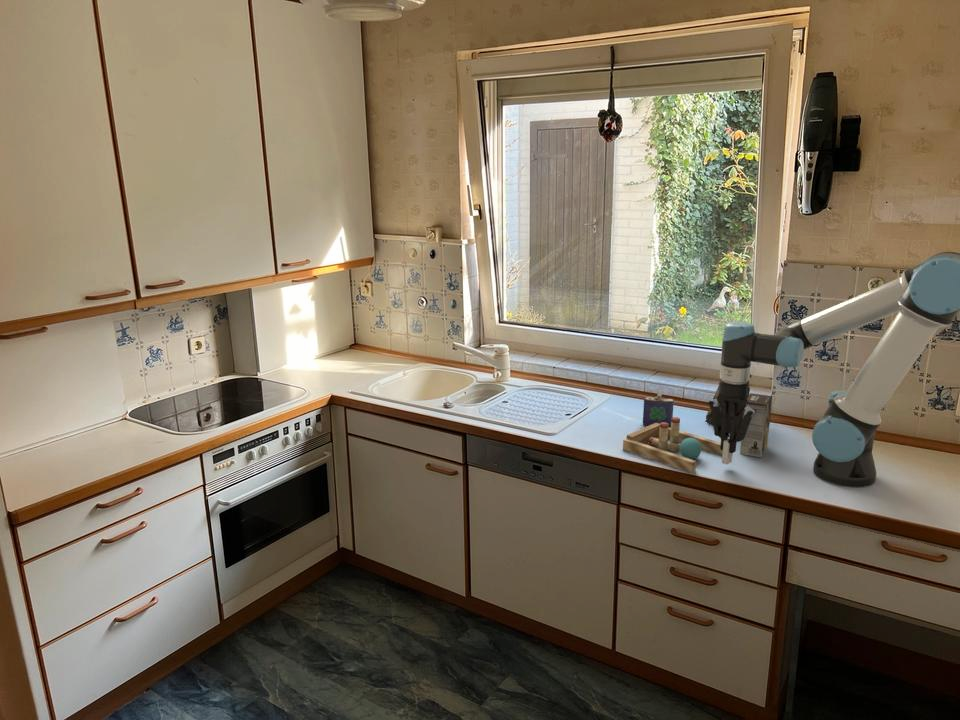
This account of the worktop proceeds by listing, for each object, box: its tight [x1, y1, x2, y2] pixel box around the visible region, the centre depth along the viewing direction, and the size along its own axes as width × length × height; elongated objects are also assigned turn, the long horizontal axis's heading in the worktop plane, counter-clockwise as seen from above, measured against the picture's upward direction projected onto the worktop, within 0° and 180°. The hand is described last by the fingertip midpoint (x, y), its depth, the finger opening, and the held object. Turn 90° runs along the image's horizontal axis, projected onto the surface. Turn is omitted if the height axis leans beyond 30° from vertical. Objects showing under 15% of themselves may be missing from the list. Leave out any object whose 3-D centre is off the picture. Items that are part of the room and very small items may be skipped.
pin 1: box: [657, 422, 669, 451], centre depth 211 cm, size 2×2×9 cm
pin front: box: [648, 437, 680, 453], centre depth 215 cm, size 2×2×9 cm
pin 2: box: [669, 416, 681, 445], centre depth 215 cm, size 2×2×9 cm
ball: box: [679, 438, 703, 460], centre depth 207 cm, size 6×6×6 cm
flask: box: [642, 393, 675, 428], centre depth 232 cm, size 9×3×11 cm, turn 78°
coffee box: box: [739, 392, 773, 458], centre depth 211 cm, size 9×6×16 cm
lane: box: [622, 423, 723, 474], centre depth 212 cm, size 23×18×4 cm
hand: (726, 462), depth 200 cm, fingers closed
